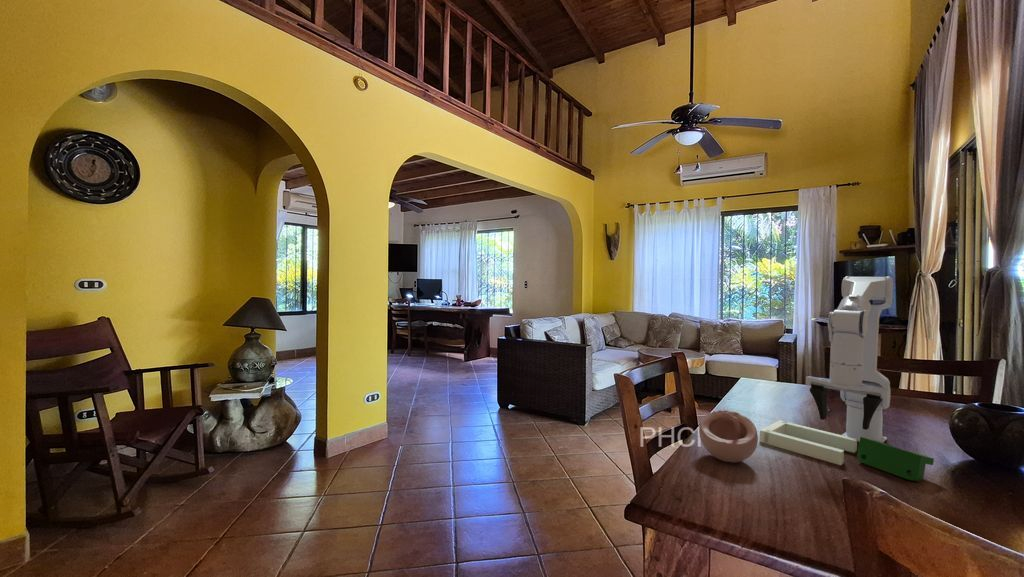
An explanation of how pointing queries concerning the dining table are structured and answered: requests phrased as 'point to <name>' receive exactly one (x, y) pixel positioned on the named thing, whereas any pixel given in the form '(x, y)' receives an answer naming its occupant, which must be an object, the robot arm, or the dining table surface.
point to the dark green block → (893, 459)
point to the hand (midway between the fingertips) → (843, 423)
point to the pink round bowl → (728, 435)
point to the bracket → (779, 438)
